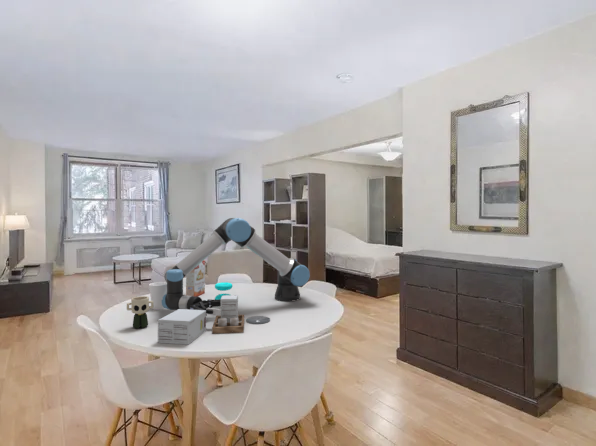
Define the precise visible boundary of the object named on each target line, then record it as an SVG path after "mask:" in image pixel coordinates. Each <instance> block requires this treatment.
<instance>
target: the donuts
mask: <svg viewBox="0 0 596 446" xmlns="http://www.w3.org/2000/svg"><path fill="white" fill-rule="evenodd" d="M214 288H215V290H217V291H221V292H222V291H223V292H225V291H230V290H231V289H232V288H233V283H231V282H217V283H215V285H214ZM224 295H231V294H230V293H220V294H217V295H216V296H215V297H214V300H221V297H222V296H224Z"/></svg>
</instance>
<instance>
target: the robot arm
mask: <svg viewBox="0 0 596 446" xmlns="http://www.w3.org/2000/svg"><path fill="white" fill-rule="evenodd" d="M230 241H232V242H234V243H235V244H236V245H238V246H239V247H241V248H247V249H248V250H250V251H251V252H252V253H254V254H255V255H257V256H258V257H259V258H261V259H262V260H263V261H264V262H266V263H267V264H268V265H270V266H272V267H273V269H275V270H277V286H276V289H275V294H274V300H277V301H279V300H280V301H281V302H293V301H292V300H295V301H298V300H297V299H299V298H300V299H301V293H300V289H299V287H303V286H305V285H306V284H307V283H308V281H309V279H310V277H311V275H310V274H311V273H310V270H309V268H308V267H307V266H306V265H304V264H302V263H300V262H298V260H297V259H294V258H293V257H290V258H289V257H288V256H286V255H285V254H284V253H282V252H281V251H279V250H278V249H277V248H276V247H274V246H273V245H271V244H270V243H269V242H268V241H266V240H265V239H264V238H262V237H261V236H260V235H258V234H257V232H256V229H255V228H254V227H252V226H251V225H250V223H249V222H248V221H247V220H246V219H244V218H241V217H230V218H228V219H225V220H224V221H223V222H222V223H221V224H220V225H219V226H218V227H216V229H215V230H213V233H212V234H211V235H210V236H209V237H208V238H206V239H205V240H204V241H203V242H202V243H200V245H198V246H197V247H196V248H194V249H193V250H192V251H191V252H190V253H188V254H187V255H186V256H185V257H184V258H182V259H181V260H180V261H179V262H178V263H177V264H176V265H174V266H173V267H172V268H170V269H168V270H166V272H165V274H164V282H166V283H167V294H165V295H164V296H163V299H162V306H163V307H164V309H166V310H170V311H176V310H178V309H189V310H206V317H207V316H208V315H211V316H220V315H221V308H219V307H221V300H215V299H207V300H205V299H204V300H202V298H201V297H200V296H188V295H186V294H184V278H186V275H187V274H188V273H189V272H191V271H192V270H193V269H194V268H195V267H197V266H198V265H199V264H200V263H201V262H202V261H206V259H207V258H208V257H210V256H211V255H212V254H213V253H214V252H215V251H217V250H218V249H219V248H220V247H221V246H223V245H224V246H225V245H227V244H228V243H229V242H230ZM300 299H299V300H300ZM213 307H214V308H213ZM216 307H218V308H216Z"/></svg>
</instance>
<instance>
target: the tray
mask: <svg viewBox="0 0 596 446" xmlns="http://www.w3.org/2000/svg"><path fill="white" fill-rule="evenodd" d="M244 329H245V314H238V318H230V322H228V323H227V319H226V318H221V315H220V316H217V315H215V319H214V322H213V324H212V326H211V334H215V335H216V334H234V333H235V334H236V333H240V334H241V333H244Z"/></svg>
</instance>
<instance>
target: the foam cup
mask: <svg viewBox="0 0 596 446" xmlns="http://www.w3.org/2000/svg"><path fill="white" fill-rule="evenodd" d="M148 290H149V294H150V301H153V305H154V307H153V308H151V309H152V310H155V311H158V310H164V309H165V308H164V307H163V306H162V299H163V296H164V295H165V294H167V283H166V281H158V282H151V283H149V284H148Z"/></svg>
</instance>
